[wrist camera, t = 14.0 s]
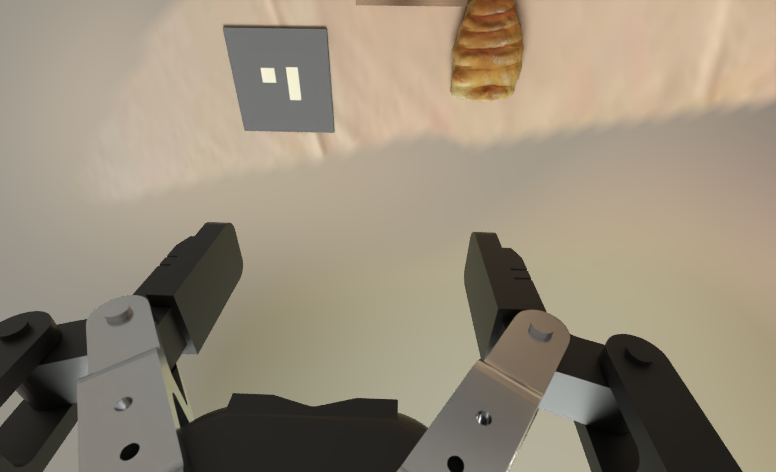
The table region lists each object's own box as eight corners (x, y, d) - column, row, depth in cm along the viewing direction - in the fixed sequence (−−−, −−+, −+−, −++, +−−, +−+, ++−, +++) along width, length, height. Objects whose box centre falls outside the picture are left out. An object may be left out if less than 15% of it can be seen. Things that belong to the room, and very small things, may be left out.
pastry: (452, -10, 33) (457, -10, 30) (527, -15, 33) (541, -15, 30) (448, 98, 38) (453, 108, 35) (513, 94, 38) (524, 104, 35)
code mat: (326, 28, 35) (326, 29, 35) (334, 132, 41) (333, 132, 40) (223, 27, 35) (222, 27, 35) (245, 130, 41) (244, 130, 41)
